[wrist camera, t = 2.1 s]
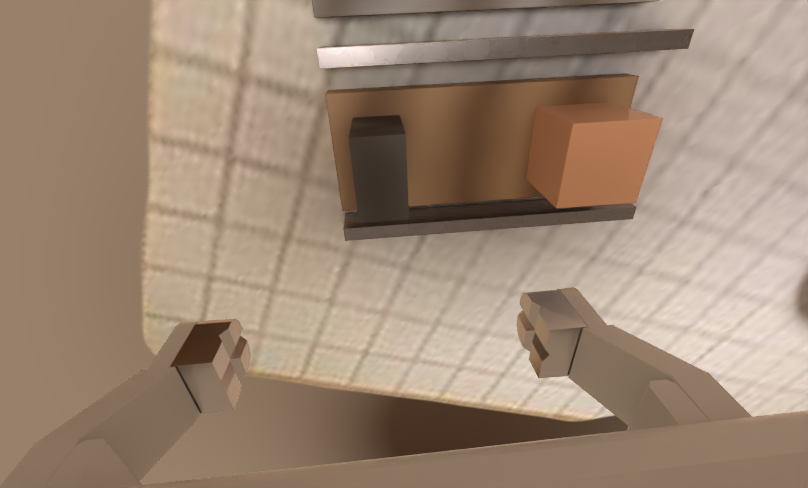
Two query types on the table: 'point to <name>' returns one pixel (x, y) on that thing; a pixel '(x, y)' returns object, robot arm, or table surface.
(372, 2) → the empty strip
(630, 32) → the lane rails
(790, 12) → the table surface
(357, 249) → the table surface
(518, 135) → the block strip
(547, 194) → the clay block
